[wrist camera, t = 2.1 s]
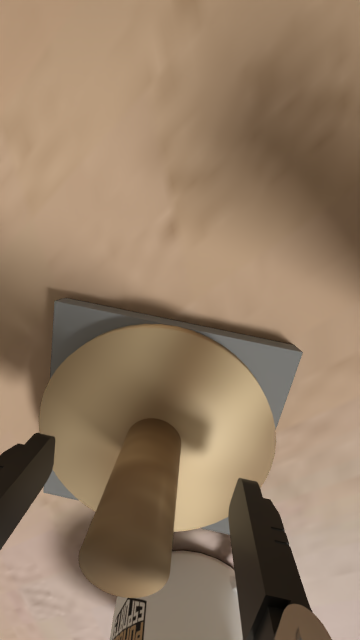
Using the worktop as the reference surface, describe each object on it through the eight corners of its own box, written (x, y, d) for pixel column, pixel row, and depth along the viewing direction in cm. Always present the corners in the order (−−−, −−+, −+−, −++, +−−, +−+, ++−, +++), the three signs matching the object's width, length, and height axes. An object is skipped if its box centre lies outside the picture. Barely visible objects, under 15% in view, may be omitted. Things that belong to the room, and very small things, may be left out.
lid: (302, 352, 11) (410, 446, 5) (237, 536, 14) (264, 717, 8) (54, 300, 11) (-85, 340, 6) (43, 492, 14) (-56, 640, 9)
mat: (294, 344, 12) (302, 352, 11) (235, 518, 15) (238, 536, 14) (65, 297, 12) (54, 300, 11) (53, 477, 15) (43, 492, 14)
